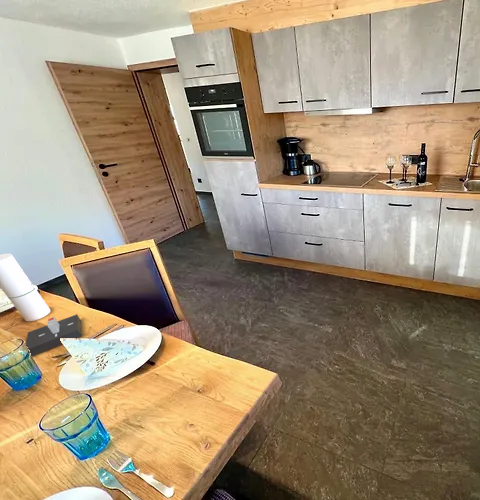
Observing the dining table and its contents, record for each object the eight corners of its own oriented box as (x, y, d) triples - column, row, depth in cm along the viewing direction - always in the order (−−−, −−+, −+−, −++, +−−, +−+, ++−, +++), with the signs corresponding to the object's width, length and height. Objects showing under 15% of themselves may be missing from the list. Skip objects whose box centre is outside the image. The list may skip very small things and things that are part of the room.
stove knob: (59, 331, 97) (53, 323, 95) (53, 334, 96) (46, 325, 94) (59, 324, 100) (53, 316, 98) (53, 327, 99) (47, 318, 97)
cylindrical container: (50, 306, 115) (12, 251, 103) (51, 314, 110) (11, 257, 98) (25, 315, 111) (-18, 259, 99) (25, 324, 106) (-20, 266, 94)
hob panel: (29, 357, 92) (24, 350, 90) (32, 338, 99) (27, 331, 98) (82, 336, 99) (77, 329, 97) (81, 320, 106) (76, 313, 105)
